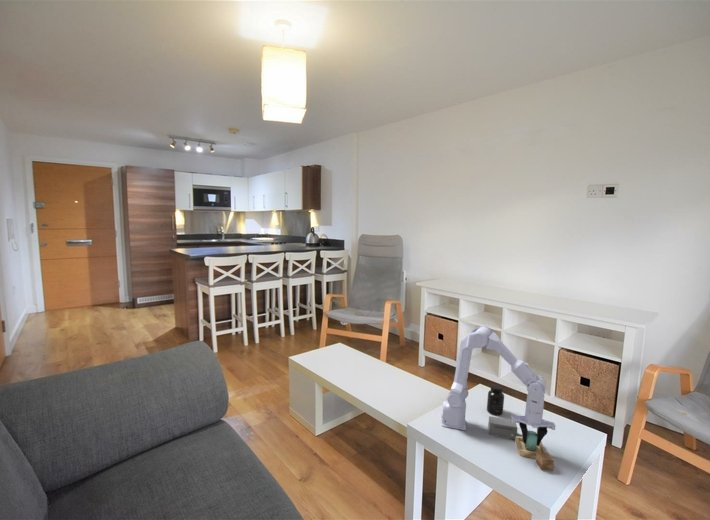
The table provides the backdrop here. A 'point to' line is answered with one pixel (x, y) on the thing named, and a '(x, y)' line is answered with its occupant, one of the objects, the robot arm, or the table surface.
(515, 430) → the gray block
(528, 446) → the teal peg
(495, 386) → the supplement bottle
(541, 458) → the walnut block
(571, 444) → the table surface
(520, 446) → the birch tray
